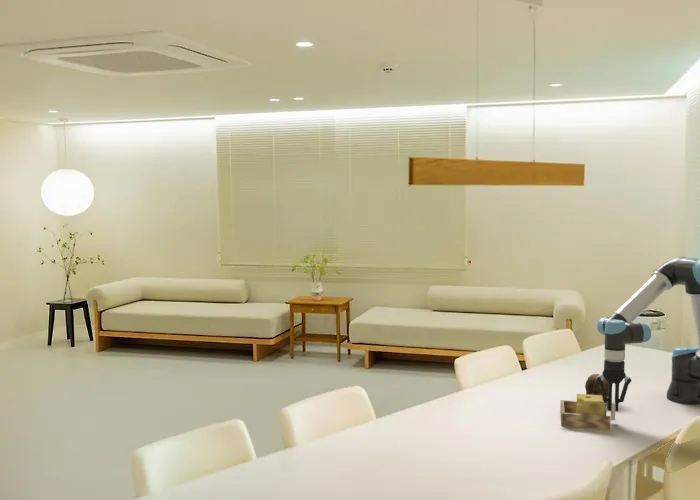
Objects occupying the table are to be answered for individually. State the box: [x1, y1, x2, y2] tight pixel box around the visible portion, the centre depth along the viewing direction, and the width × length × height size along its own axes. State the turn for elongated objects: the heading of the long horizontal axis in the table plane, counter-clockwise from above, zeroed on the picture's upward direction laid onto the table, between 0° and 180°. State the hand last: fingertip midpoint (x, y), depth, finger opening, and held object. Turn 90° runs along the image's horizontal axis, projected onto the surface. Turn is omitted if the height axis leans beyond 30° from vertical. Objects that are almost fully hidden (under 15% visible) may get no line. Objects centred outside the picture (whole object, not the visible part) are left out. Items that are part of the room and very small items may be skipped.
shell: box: [584, 373, 608, 404], centre depth 304 cm, size 11×11×12 cm
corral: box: [559, 399, 611, 431], centre depth 279 cm, size 18×18×5 cm
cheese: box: [576, 393, 605, 416], centre depth 277 cm, size 10×11×10 cm
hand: (612, 418), depth 276 cm, fingers closed
